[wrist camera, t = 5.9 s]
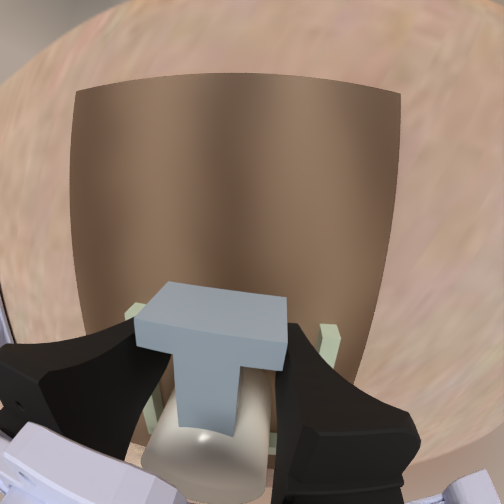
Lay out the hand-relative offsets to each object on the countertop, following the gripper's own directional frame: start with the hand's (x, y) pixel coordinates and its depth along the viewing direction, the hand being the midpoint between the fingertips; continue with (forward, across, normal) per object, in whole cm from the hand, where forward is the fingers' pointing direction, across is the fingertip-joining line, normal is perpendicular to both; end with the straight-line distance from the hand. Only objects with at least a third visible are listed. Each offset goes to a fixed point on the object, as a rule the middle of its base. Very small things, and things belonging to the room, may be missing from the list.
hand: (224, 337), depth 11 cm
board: (+3, +1, +1) cm, 3 cm away
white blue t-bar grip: (+2, 0, +2) cm, 3 cm away
